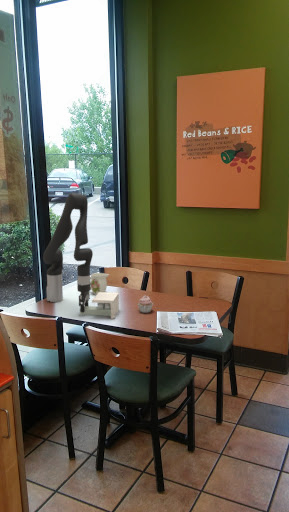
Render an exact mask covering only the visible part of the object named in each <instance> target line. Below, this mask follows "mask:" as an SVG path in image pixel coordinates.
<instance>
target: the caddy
mask: <svg viewBox="0 0 289 512" xmlns="http://www.w3.org/2000/svg"><path fill="white" fill-rule="evenodd" d="M96 304H97V306H95V305H93V306H91V305H89V306H85V305H84V307H85V312H81V311H80V310H79V314H80V315H84V316H85V315H86V316H109V317H111V303H105V307H104V303H96Z"/></svg>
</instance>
